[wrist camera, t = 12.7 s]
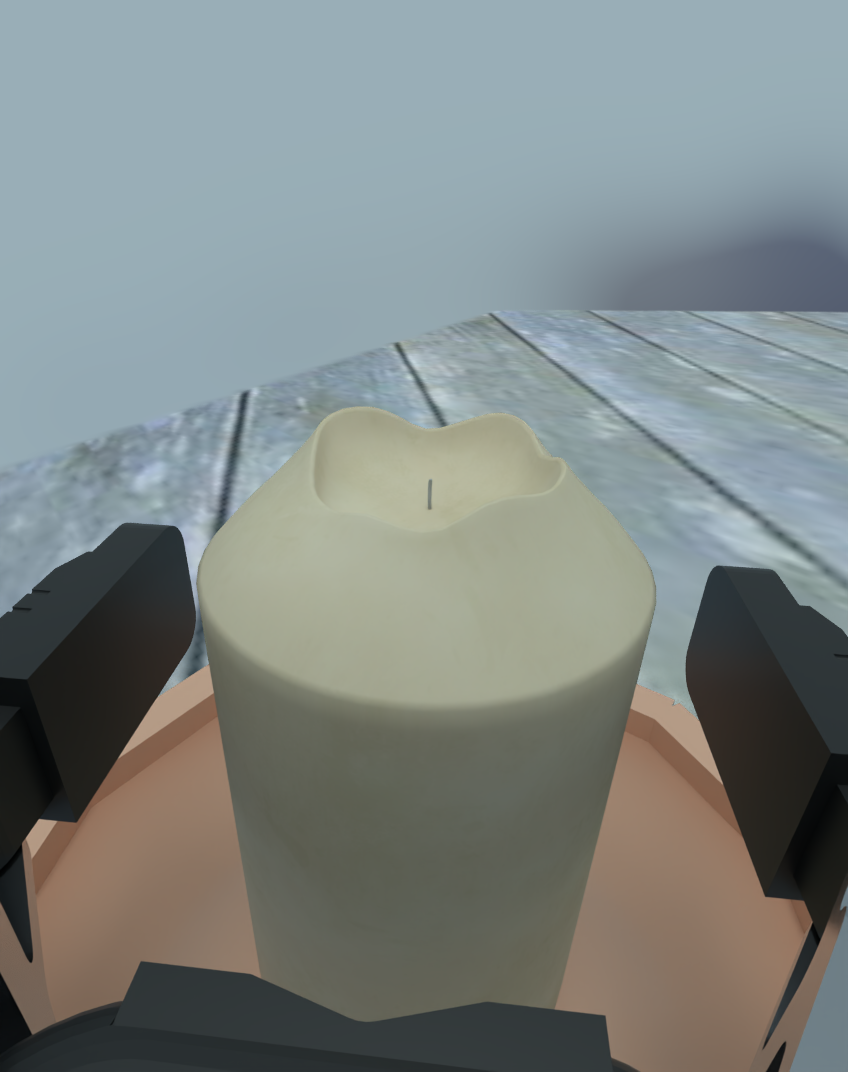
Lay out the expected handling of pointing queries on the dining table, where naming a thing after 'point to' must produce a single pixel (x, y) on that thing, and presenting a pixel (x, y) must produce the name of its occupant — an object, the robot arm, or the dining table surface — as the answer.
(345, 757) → the candle
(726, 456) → the dining table surface
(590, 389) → the dining table surface
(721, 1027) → the saucer
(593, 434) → the dining table surface
